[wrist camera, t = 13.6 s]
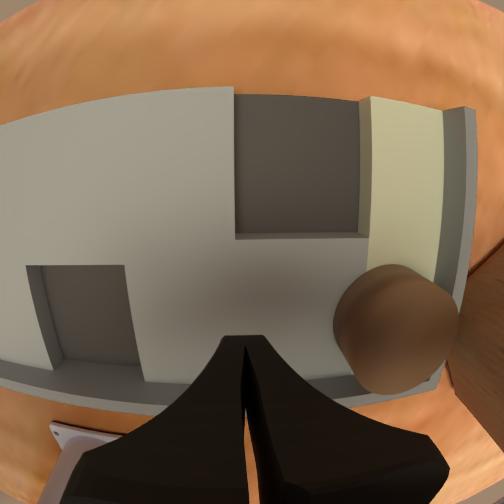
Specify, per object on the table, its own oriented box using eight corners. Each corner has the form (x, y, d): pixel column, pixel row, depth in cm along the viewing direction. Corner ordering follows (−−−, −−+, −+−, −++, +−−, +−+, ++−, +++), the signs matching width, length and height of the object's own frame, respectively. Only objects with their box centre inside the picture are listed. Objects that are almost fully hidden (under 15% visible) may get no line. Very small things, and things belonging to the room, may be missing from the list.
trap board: (410, 359, 17) (435, 388, 14) (5, 355, 16) (-19, 380, 13) (436, 116, 14) (475, 109, 10) (-30, 143, 12) (-65, 144, 9)
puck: (413, 356, 15) (438, 385, 12) (325, 365, 15) (341, 401, 12) (436, 264, 14) (471, 283, 11) (341, 262, 14) (367, 286, 11)
